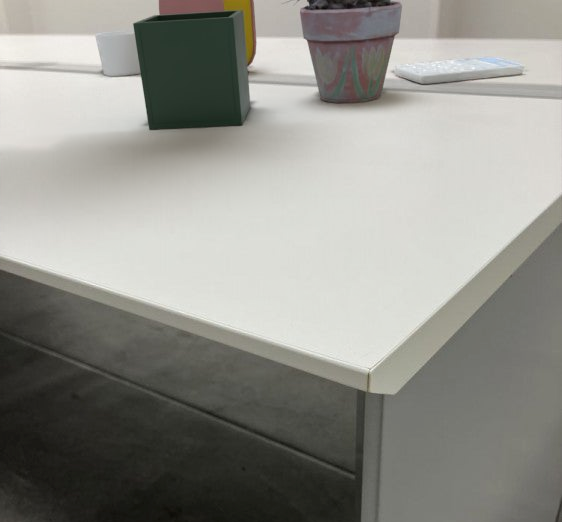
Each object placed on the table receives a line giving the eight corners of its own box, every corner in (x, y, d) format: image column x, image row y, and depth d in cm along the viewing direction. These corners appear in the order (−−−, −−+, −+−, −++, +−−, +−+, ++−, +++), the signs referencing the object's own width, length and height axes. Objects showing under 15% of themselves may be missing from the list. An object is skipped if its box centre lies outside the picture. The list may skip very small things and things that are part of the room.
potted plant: (295, 89, 121) (288, -79, 108) (407, 86, 117) (413, -89, 104) (275, 110, 106) (264, -83, 93) (403, 106, 102) (410, -94, 89)
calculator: (392, 75, 128) (392, 64, 127) (489, 65, 132) (490, 54, 131) (421, 85, 117) (421, 73, 116) (526, 74, 121) (527, 62, 120)
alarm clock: (261, 71, 142) (254, -37, 132) (224, 79, 135) (214, -34, 125) (200, 67, 153) (189, -34, 143) (163, 74, 146) (149, -31, 136)
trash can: (149, 129, 99) (132, 23, 92) (167, 111, 110) (153, 15, 103) (242, 125, 98) (233, 17, 91) (250, 107, 109) (243, 9, 102)
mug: (133, 76, 146) (127, 34, 142) (92, 76, 150) (85, 35, 146) (164, 67, 157) (159, 27, 153) (125, 67, 160) (119, 29, 156)
